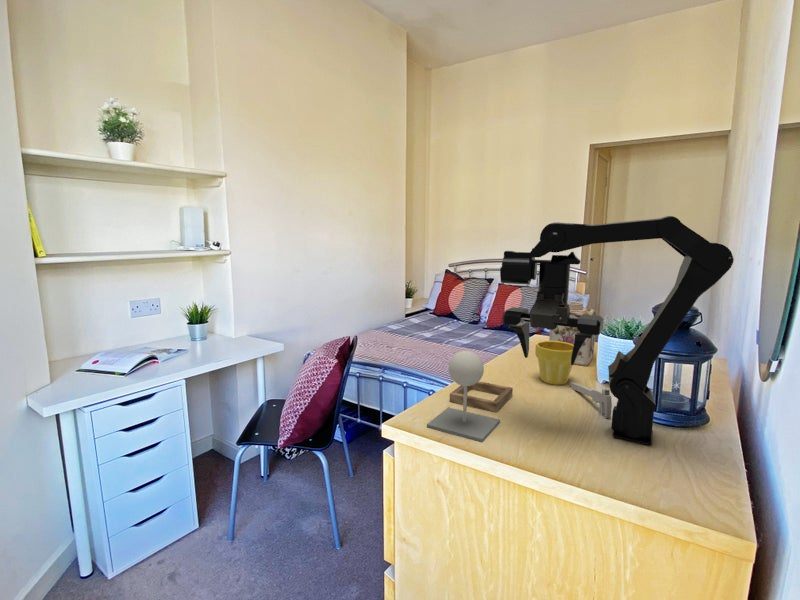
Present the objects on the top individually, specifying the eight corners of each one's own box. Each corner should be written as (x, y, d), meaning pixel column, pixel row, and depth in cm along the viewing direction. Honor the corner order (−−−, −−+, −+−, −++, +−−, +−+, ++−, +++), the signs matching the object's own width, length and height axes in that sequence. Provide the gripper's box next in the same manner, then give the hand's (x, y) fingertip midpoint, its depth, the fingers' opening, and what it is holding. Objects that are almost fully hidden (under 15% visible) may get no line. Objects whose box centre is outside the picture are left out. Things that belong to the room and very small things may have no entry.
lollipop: (475, 413, 91) (477, 346, 89) (487, 428, 84) (489, 355, 82) (443, 415, 90) (444, 347, 88) (452, 430, 83) (454, 357, 81)
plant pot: (581, 380, 113) (583, 344, 112) (565, 390, 106) (567, 352, 104) (544, 371, 120) (546, 338, 119) (527, 380, 113) (528, 345, 111)
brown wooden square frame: (512, 395, 103) (512, 387, 102) (496, 412, 93) (496, 403, 93) (468, 386, 109) (468, 379, 108) (449, 401, 99) (449, 393, 99)
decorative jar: (594, 357, 134) (598, 301, 131) (588, 367, 124) (592, 306, 121) (555, 351, 140) (558, 298, 137) (546, 360, 130) (549, 303, 128)
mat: (499, 422, 88) (500, 419, 88) (482, 442, 80) (482, 439, 80) (448, 409, 95) (448, 407, 94) (426, 427, 86) (426, 424, 86)
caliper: (610, 420, 90) (613, 392, 89) (605, 420, 90) (608, 392, 89) (572, 385, 110) (573, 362, 109) (568, 385, 110) (569, 362, 109)
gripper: (494, 287, 83) (491, 363, 85) (598, 295, 73) (591, 381, 75) (512, 281, 92) (509, 350, 94) (606, 287, 82) (600, 364, 85)
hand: (548, 360), depth 87 cm, fingers open, 9 cm apart
